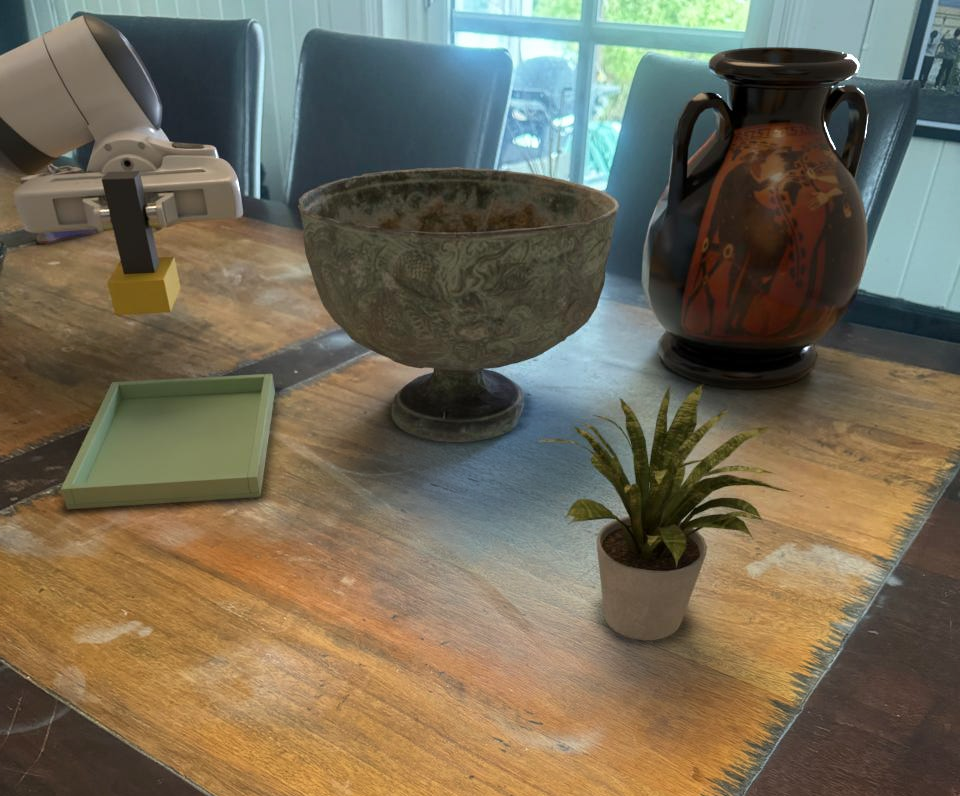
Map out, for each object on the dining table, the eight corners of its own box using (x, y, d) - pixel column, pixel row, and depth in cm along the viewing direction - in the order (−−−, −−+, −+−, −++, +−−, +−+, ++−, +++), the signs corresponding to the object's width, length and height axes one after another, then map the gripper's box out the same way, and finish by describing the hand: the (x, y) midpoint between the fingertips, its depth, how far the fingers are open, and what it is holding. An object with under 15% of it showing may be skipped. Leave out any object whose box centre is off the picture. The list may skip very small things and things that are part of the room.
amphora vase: (778, 319, 110) (830, 37, 93) (882, 392, 94) (969, 65, 77) (604, 337, 106) (625, 46, 89) (680, 416, 90) (724, 77, 73)
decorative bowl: (264, 440, 86) (237, 204, 73) (388, 347, 105) (383, 147, 92) (539, 502, 78) (561, 252, 66) (619, 390, 97) (647, 180, 85)
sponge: (115, 315, 86) (82, 185, 80) (128, 290, 92) (99, 167, 85) (170, 312, 87) (143, 183, 80) (180, 288, 92) (156, 165, 86)
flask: (42, 246, 137) (19, 165, 130) (33, 242, 138) (10, 162, 132) (102, 234, 142) (82, 155, 135) (92, 230, 144) (73, 152, 137)
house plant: (587, 722, 57) (607, 480, 47) (493, 599, 67) (492, 378, 57) (781, 660, 61) (838, 427, 51) (665, 554, 71) (693, 341, 61)
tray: (67, 511, 77) (60, 489, 76) (117, 402, 94) (111, 382, 93) (260, 499, 78) (256, 476, 77) (275, 393, 95) (272, 373, 94)
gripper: (14, 156, 91) (-6, 189, 80) (230, 143, 95) (239, 173, 84) (33, 225, 94) (17, 266, 84) (241, 211, 98) (250, 247, 88)
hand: (130, 219), depth 84 cm, fingers closed on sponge, 3 cm apart
